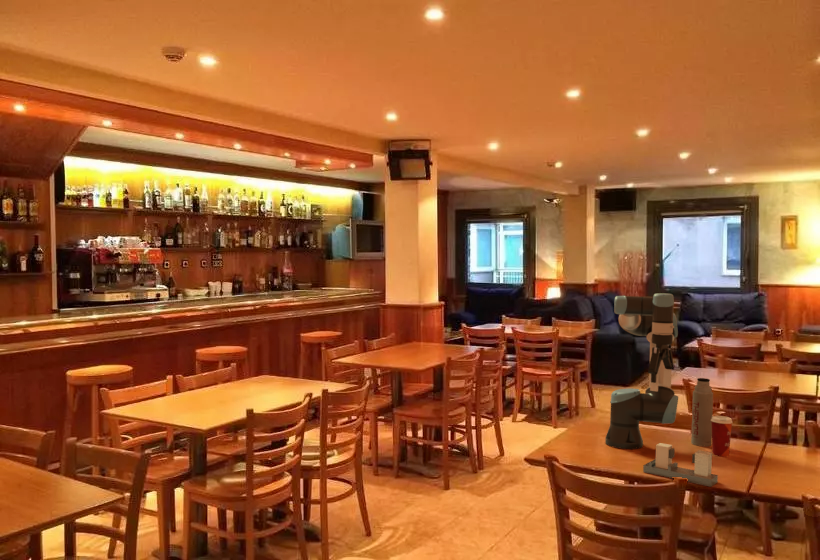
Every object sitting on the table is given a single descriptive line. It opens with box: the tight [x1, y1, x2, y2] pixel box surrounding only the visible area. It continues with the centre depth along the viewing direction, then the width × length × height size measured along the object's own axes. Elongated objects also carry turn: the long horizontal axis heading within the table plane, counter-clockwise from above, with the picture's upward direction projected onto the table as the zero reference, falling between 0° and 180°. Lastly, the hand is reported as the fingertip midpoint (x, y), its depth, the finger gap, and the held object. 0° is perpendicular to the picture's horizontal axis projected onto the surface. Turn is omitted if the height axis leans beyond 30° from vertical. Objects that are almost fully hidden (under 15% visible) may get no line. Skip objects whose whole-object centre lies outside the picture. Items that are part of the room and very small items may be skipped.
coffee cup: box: [711, 415, 734, 458], centre depth 281 cm, size 8×8×15 cm
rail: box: [642, 449, 719, 488], centre depth 251 cm, size 24×7×10 cm, turn 50°
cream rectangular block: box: [655, 442, 676, 469], centre depth 255 cm, size 6×4×8 cm
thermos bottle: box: [690, 377, 714, 448], centre depth 296 cm, size 8×8×28 cm
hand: (660, 388), depth 269 cm, fingers open, 13 cm apart
